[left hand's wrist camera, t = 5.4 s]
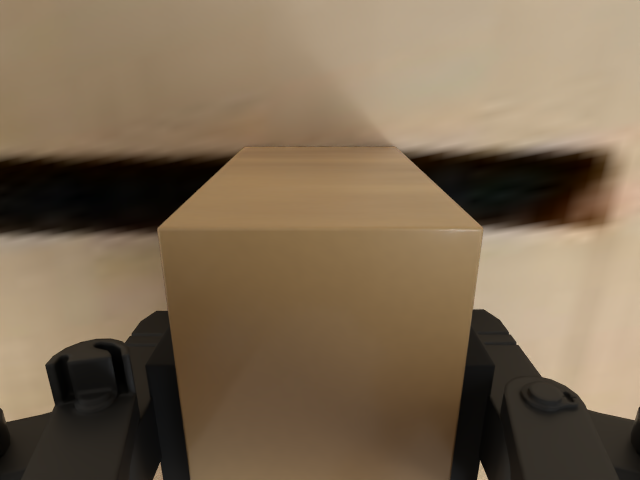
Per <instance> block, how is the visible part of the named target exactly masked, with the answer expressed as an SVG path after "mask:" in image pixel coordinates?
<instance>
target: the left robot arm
mask: <svg viewBox="0 0 640 480" xmlns="http://www.w3.org/2000/svg"><path fill="white" fill-rule="evenodd" d="M45 366H46V370H47V374H48V378H49V382H50V386H51V390H52V394H53V398H54V402H55V407H54V409H53V411H52V412H50V413H46V414H42V415H38V416H33V417H29V418H24V419H19V420H15V421H10V422H6V421H5V417H4V414H3V411H2V409H1V408H0V480H153V478H154V476H155V473H156V471H157V468H158V466H159V463H160V462H161V468H162V475H163V480H190V473H189V466H188V458H187V451H186V443H185V436H184V428H183V420H182V413H181V405H180V398H179V390H178V383H177V375H176V367H175V360H174V352H173V345H172V337H171V330H170V322H169V315H168V311H156V312H154V313H153V314H151V315H150V316H148V317H147V318H145V319H144V320H142V321H141V322H140V323H139V324H138V326H137V327H136V329H135V330H134V331H133V333H132V336H130V337H129V338H128V340H127V341H126V342H125V343H123V342H122V341H119V340H115V339H94V340H89V341H84V342H80V343H78V344H75V345H72V346H70V347H67V348H65V349H64V350H62V351H60V352H59V353H57V354H56V355H54V356H53V357H52V358H51V359H50V360H49V361H48V362H47V364H46V365H45ZM480 461H481V463H482V465H483V468H484V470H485V473H486V475H487V477H488V480H640V407H639V409H638V412H637V415H636V419H635V420H630V419H626V418H621V417H616V416H612V415H607V414H602V413H598V412H594V411H591V410H587V408H586V406H585V404H584V403H583V401H582V400H581V399H580V397H579V396H578V395H577V394H576V393H574V392H573V391H572V390H570V389H569V388H568V387H566V386H565V385H562V384H560V383H558V382H556V381H554V380H551V379H547V378H543V377H541V375H540V374H539V373H538V371H537V370H536V368H535V367H534V366H533V364H532V363H531V362H530V360H529V359H528V358H527V356H526V355H525V354H524V352H523V351H522V349H521V348H520V347H519V345H516V341H515V340H514V339H513V337H512V336H511V335H509V332H508V330H507V329H506V328H505V326H504V325H503V324H502V322H501V321H500V320H499V319H498V318H496V317H494V316H493V315H491V314H490V313H488V312H487V311H485V310H473V311H472V319H471V326H470V334H469V341H468V349H467V356H466V364H465V371H464V379H463V387H462V394H461V402H460V409H459V417H458V424H457V432H456V439H455V447H454V454H453V462H452V469H451V477H450V480H477V476H478V470H479V464H480Z"/></svg>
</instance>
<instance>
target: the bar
mask: <svg viewBox="0 0 640 480" xmlns="http://www.w3.org/2000/svg"><path fill="white" fill-rule="evenodd" d="M157 231H158V239H159V247H160V254H161V262H162V269H163V277H164V284H165V292H166V299H167V307H168V315H169V322H170V330H171V337H172V345H173V352H174V360H175V367H176V375H177V383H178V390H179V398H180V405H181V413H182V420H183V428H184V436H185V443H186V451H187V458H188V466H189V473H190V480H450V477H451V469H452V462H453V454H454V447H455V439H456V432H457V424H458V417H459V409H460V402H461V394H462V387H463V379H464V371H465V364H466V356H467V349H468V341H469V334H470V326H471V319H472V311H473V304H474V296H475V289H476V281H477V274H478V266H479V259H480V251H481V243H482V236H483V227H482V226H481V225H479V224H478V223H477V222H476V221H475V220H474V219H473V218H472V217H471V216H470V215H469V214H468V213H467V212H465V211H464V210H463V209H462V208H461V207H460V206H459V205H458V204H457V203H456V202H455V201H454V200H452V199H451V198H450V197H449V196H448V195H447V194H446V193H445V192H444V191H443V190H442V189H441V188H440V187H438V186H437V185H436V184H435V183H434V182H433V181H432V180H431V179H430V178H429V177H428V176H427V175H426V174H424V173H423V172H422V171H421V170H420V169H419V168H418V167H417V166H416V165H415V164H414V163H413V162H412V161H410V160H409V159H408V158H407V157H406V156H405V155H404V154H403V153H402V152H401V151H400V150H399V149H398V148H396V147H244V148H243V149H242V150H240V151H239V152H238V153H237V154H236V155H235V156H234V157H233V158H232V159H231V160H230V161H229V162H228V163H227V164H225V165H224V166H223V167H222V168H221V169H220V170H219V171H218V172H217V173H216V174H215V175H214V176H213V177H212V178H210V179H209V180H208V181H207V182H206V183H205V184H204V185H203V186H202V187H201V188H200V189H199V190H198V191H197V192H195V193H194V194H193V195H192V196H191V197H190V198H189V199H188V200H187V201H186V202H185V203H184V204H183V205H182V206H180V207H179V208H178V209H177V210H176V211H175V212H174V213H173V214H172V215H171V216H170V217H169V218H168V219H167V220H165V221H164V222H163V223H162V224H161V225H160V226H159V227H158V229H157Z"/></svg>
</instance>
